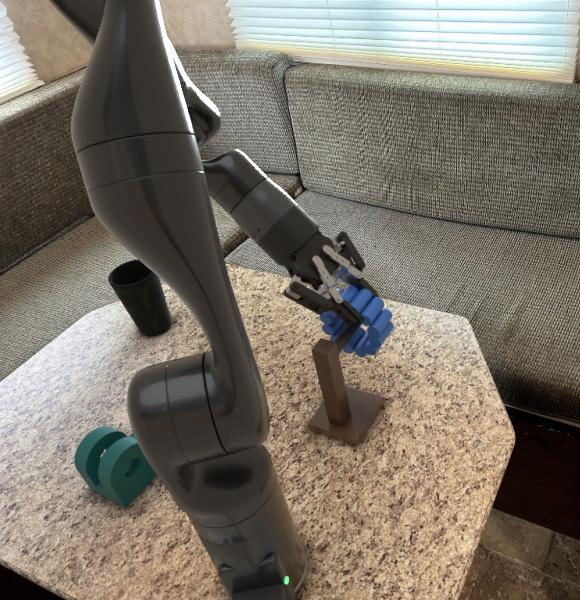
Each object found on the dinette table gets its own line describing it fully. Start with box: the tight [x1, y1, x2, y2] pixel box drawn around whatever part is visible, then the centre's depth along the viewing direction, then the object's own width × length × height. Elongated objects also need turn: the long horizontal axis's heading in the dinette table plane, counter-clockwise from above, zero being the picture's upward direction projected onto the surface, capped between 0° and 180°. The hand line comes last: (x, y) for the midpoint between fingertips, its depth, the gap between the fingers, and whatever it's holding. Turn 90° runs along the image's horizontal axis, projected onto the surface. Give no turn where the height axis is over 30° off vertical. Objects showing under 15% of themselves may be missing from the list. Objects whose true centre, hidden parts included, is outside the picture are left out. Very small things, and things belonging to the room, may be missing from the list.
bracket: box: [73, 425, 158, 509], centre depth 84 cm, size 18×7×8 cm, turn 152°
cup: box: [107, 258, 173, 338], centre depth 104 cm, size 8×8×12 cm
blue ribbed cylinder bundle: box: [318, 285, 395, 358], centre depth 84 cm, size 4×9×9 cm, turn 64°
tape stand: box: [307, 305, 386, 447], centre depth 85 cm, size 14×8×16 cm, turn 154°
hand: (367, 312), depth 82 cm, fingers closed on blue ribbed cylinder bundle, 4 cm apart
